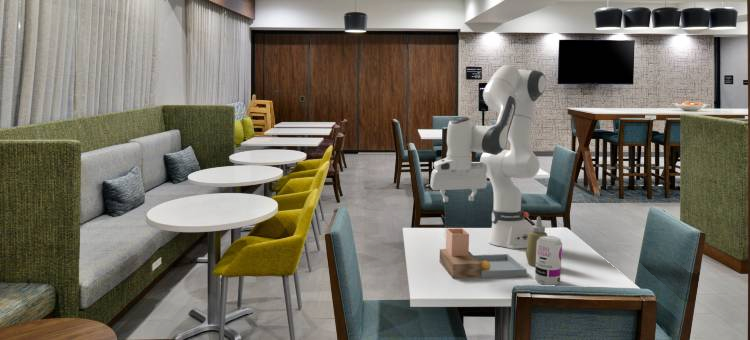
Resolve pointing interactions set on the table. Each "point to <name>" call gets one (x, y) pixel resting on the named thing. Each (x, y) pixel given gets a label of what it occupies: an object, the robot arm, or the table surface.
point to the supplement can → (548, 260)
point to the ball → (485, 265)
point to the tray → (501, 266)
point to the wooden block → (460, 265)
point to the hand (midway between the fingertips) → (458, 201)
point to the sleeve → (457, 242)
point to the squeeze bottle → (534, 241)
